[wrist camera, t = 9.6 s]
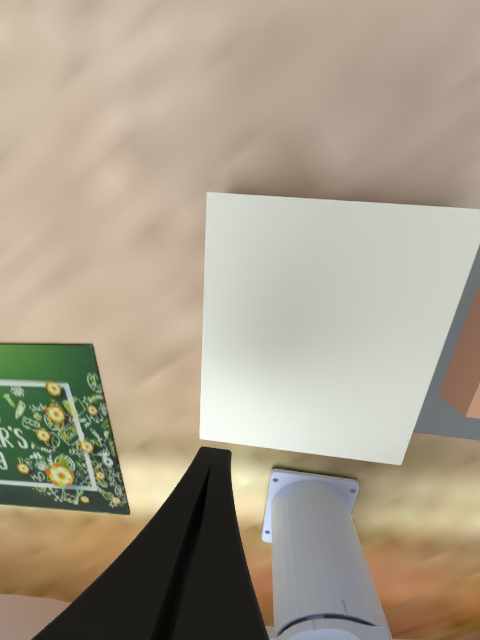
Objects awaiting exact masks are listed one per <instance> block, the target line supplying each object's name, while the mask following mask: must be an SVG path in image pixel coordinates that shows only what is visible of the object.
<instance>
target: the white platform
mask: <svg viewBox="0 0 480 640" xmlns="http://www.w3.org/2000/svg"><path fill="white" fill-rule="evenodd" d="M479 245H480V209H470V208H454V207H438V206H422V205H406V204H390V203H374V202H358V201H342V200H326V199H310V198H294V197H278V196H262V195H246V194H230V193H214V192H207V202H206V236H205V270H204V305H203V339H202V373H201V407H200V439H205V440H212V441H220V442H227V443H235V444H242V445H250V446H257V447H265V448H273V449H280V450H288V451H295V452H303V453H310V454H318V455H326V456H333V457H341V458H348V459H356V460H363V461H371V462H378V463H386V464H394V465H401V464H402V461H403V458H404V455H405V452H406V450H407V447H408V444H409V441H410V438H411V436H412V433H413V430H414V427H415V424H416V422H417V419H418V416H419V413H420V410H421V408H422V405H423V402H424V399H425V396H426V393H427V391H428V388H429V385H430V382H431V379H432V377H433V374H434V371H435V368H436V365H437V363H438V360H439V357H440V354H441V351H442V349H443V346H444V343H445V340H446V337H447V335H448V332H449V329H450V326H451V323H452V320H453V318H454V315H455V312H456V309H457V306H458V304H459V301H460V298H461V295H462V292H463V290H464V287H465V284H466V281H467V278H468V276H469V273H470V270H471V267H472V264H473V262H474V259H475V256H476V253H477V250H478V247H479Z"/></svg>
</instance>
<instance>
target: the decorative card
mask: <svg viewBox="0 0 480 640" xmlns="http://www.w3.org/2000/svg"><path fill="white" fill-rule="evenodd" d="M0 505H11V506H23V507H36V508H48V509H60V510H72V511H84V512H96V513H109V514H121V515H129V514H130V510H129V506H128V501H127V497H126V492H125V488H124V483H123V479H122V474H121V470H120V465H119V461H118V456H117V452H116V447H115V443H114V438H113V434H112V429H111V425H110V420H109V416H108V411H107V407H106V402H105V398H104V393H103V389H102V384H101V380H100V375H99V371H98V366H97V362H96V357H95V353H94V348H93V345H68V344H0Z"/></svg>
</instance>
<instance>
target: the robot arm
mask: <svg viewBox="0 0 480 640" xmlns="http://www.w3.org/2000/svg"><path fill="white" fill-rule="evenodd" d="M231 454H232V453H231V451H230V450H225V449H217V448H210V447H201V448H200V449H199V451H198V453H197V455H196V456H195V458H194V460H193V461H192V463H191V465H190V466H189V468H188V470H187V471H186V473H185V474H184V476H183V477H182V479H181V480H180V482H179V483H178V484H177V486H176V487H175V489H174V490H173V492H172V493H171V494H170V496H169V497H168V498H167V500H166V501H165V502H164V504H163V505H162V506H161V508H160V509H159V510H158V511H157V513H156V514H155V515H154V517H153V518H152V519H151V520H150V521H149V523H148V524H147V525H146V526H145V527H144V529H143V530H142V531H141V532H140V533H139V534H138V536H137V537H136V538H135V539H134V540H133V541H132V542H131V544H130V545H129V546H128V547H127V548H126V549H125V550H124V551H123V552H122V553H121V554H120V555H119V557H118V558H117V559H116V560H115V561H114V562H113V563H112V564H111V565H110V566H109V567H108V568H107V569H106V570H105V571H104V572H103V573H102V574H101V575H100V576H99V577H98V578H97V579H96V580H95V581H94V582H93V583H92V584H91V585H90V586H89V587H88V588H87V589H86V590H85V591H84V592H83V593H82V594H81V595H80V596H79V597H78V598H77V599H76V600H75V601H73V602H72V603H71V604H70V605H69V606H68V607H67V608H66V609H65V610H64V611H63V612H62V613H61V614H60V615H58V616H57V617H56V618H55V619H54V620H53V621H52V622H51V623H49V625H47V626H46V627H45V628H44V629H43V630H42V631H41V632H39V633H38V634H37V635H36V636H35V637H34V638H33V639H32V640H393V639H392V636H391V633H390V630H389V627H388V624H387V621H386V618H385V615H384V612H383V609H382V606H381V603H380V600H379V597H378V594H377V591H376V588H375V585H374V582H373V579H372V576H371V573H370V570H369V567H368V564H367V561H366V558H365V555H364V552H363V549H362V546H361V543H360V540H359V537H358V534H357V531H356V528H355V525H354V523H353V520H352V517H351V514H352V511H353V507H354V504H355V501H356V497H357V494H358V491H359V487H360V486H359V483H358V481H357V480H354V479H348V478H341V477H334V476H326V475H319V474H312V473H304V472H297V471H290V470H283V469H273V470H272V471H271V474H270V481H269V488H268V495H267V502H266V508H265V515H264V522H263V529H262V540H263V541H265V542H270V543H272V573H273V605H274V624H275V638H273V639H269V637H268V634H267V631H266V628H265V625H264V622H263V618H262V615H261V612H260V608H259V605H258V602H257V598H256V595H255V592H254V588H253V585H252V581H251V578H250V574H249V570H248V566H247V563H246V559H245V554H244V550H243V546H242V542H241V537H240V532H239V527H238V522H237V517H236V511H235V505H234V498H233V491H232V482H231ZM275 478H276V479H275Z"/></svg>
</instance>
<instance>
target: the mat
mask: <svg viewBox="0 0 480 640" xmlns="http://www.w3.org/2000/svg"><path fill="white" fill-rule="evenodd" d="M479 284H480V245H479V247H478V250H477V253H476V256H475V259H474V262H473V264H472V267H471V270H470V273H469V276H468V278H467V281H466V284H465V287H464V290H463V292H462V295H461V298H460V301H459V304H458V306H457V309H456V312H455V315H454V318H453V320H452V323H451V326H450V329H449V332H448V335H447V337H446V340H445V343H444V346H443V349H442V351H441V354H440V357H439V360H438V363H437V365H436V368H435V371H434V374H433V377H432V379H431V382H430V385H429V388H428V391H427V393H426V396H425V399H424V402H423V405H422V408H421V410H420V413H419V416H418V419H417V422H416V424H415V427H414V430H413V432H418V433H426V434H435V435H443V436H451V437H459V438H467V439H475V440H480V419H479V418H470V417H465V416H464V415H462V414H461V413H460V412H459V411H457V410H456V409H455V408H454V407H453V406H451V405H450V404H449V403H448V402H447V401H445V400H444V399H443V398H442V397H440V396H439V393H440V390H441V387H442V384H443V382H444V379H445V376H446V374H447V371H448V368H449V365H450V363H451V360H452V357H453V354H454V352H455V349H456V346H457V344H458V341H459V338H460V335H461V333H462V330H463V327H464V324H465V322H466V319H467V316H468V314H469V311H470V308H471V305H472V303H473V300H474V297H475V294H476V292H477V289H478V286H479Z"/></svg>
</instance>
